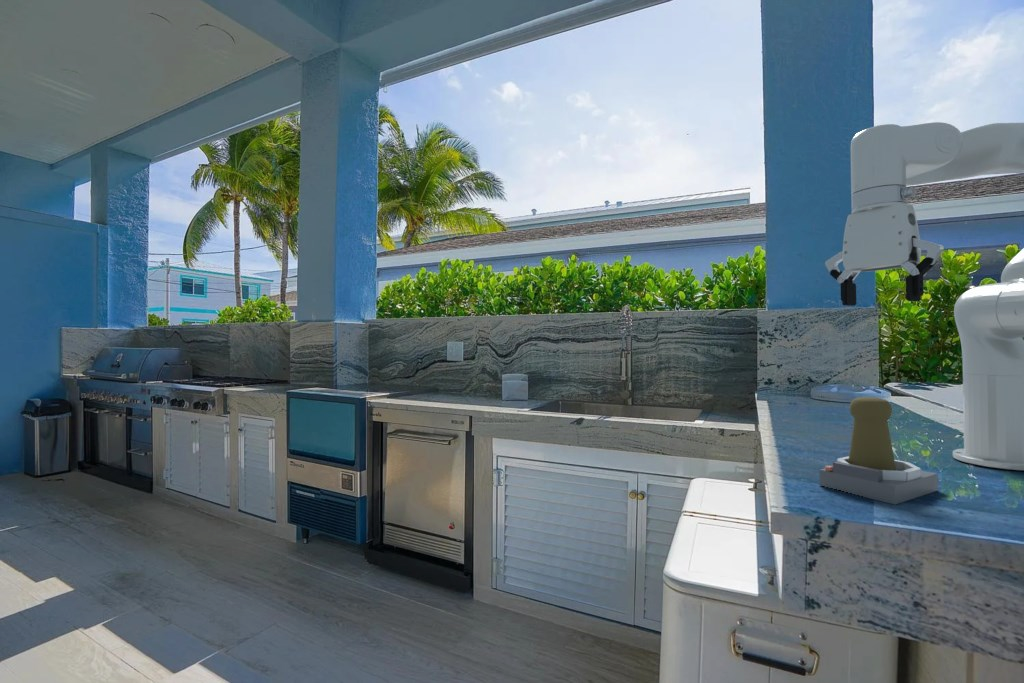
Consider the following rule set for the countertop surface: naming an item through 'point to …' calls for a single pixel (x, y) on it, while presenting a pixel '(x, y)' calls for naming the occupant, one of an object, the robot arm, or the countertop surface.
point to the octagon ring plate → (880, 481)
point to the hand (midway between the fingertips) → (879, 303)
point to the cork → (871, 434)
